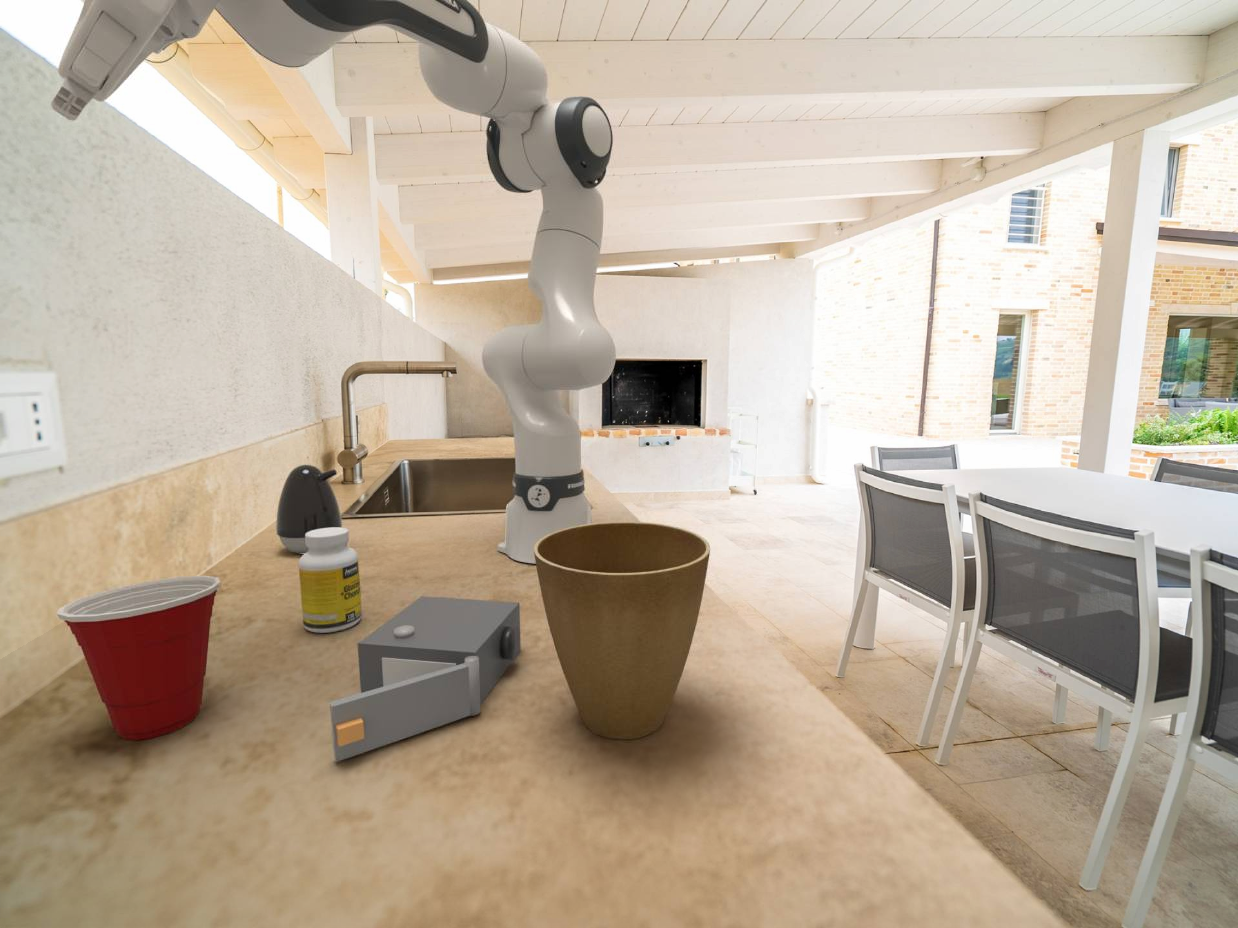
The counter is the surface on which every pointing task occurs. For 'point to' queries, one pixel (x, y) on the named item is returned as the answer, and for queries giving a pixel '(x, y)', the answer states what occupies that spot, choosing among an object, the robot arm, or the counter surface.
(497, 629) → the box
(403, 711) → the side door
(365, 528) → the counter surface
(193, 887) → the counter surface
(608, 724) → the plant pot
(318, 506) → the pump dispenser
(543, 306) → the robot arm
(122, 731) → the plastic cup
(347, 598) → the pill bottle
